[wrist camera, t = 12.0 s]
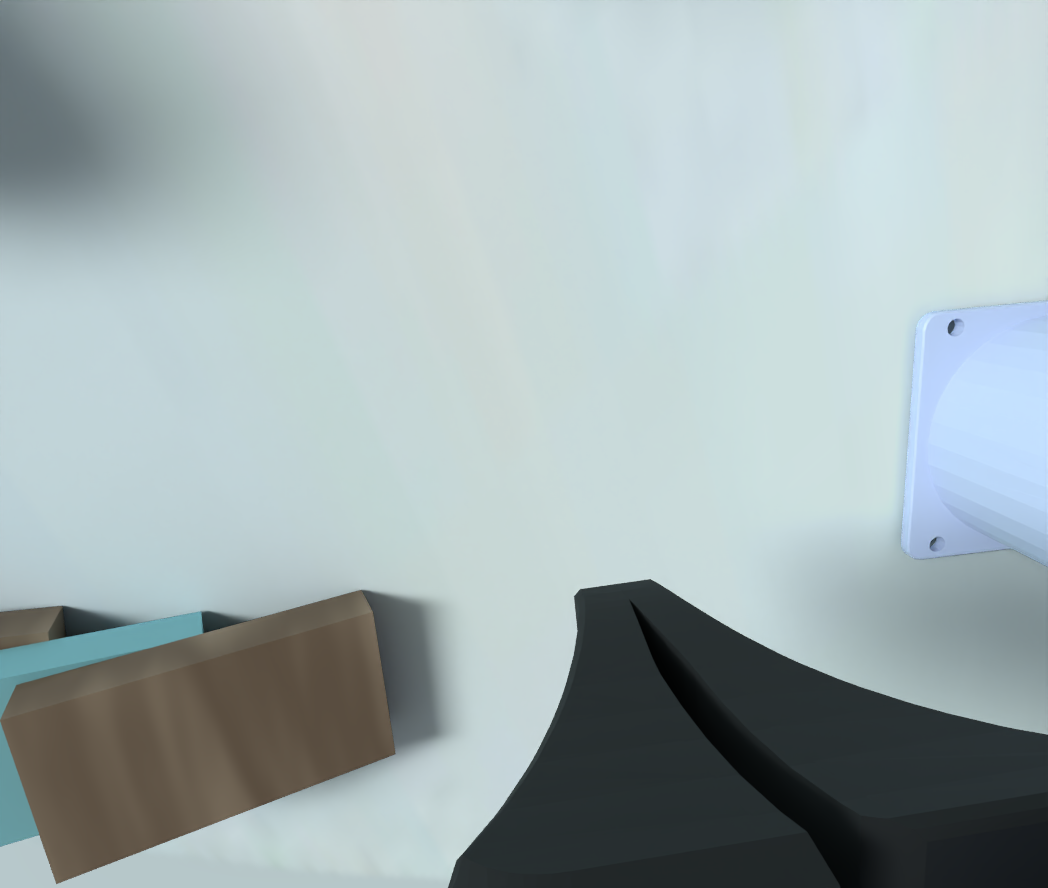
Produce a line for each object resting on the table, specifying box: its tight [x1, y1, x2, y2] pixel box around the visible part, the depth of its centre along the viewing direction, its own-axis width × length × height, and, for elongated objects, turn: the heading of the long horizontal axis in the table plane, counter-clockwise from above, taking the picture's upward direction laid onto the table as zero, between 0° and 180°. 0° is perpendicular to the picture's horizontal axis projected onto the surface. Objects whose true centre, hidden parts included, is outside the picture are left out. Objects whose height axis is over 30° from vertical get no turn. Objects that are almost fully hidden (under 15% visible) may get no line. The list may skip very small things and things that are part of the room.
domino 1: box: [0, 612, 204, 847], centre depth 18 cm, size 2×5×9 cm
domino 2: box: [0, 590, 395, 884], centre depth 19 cm, size 2×5×9 cm
